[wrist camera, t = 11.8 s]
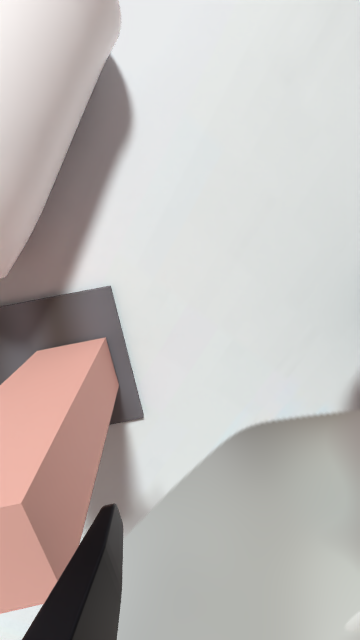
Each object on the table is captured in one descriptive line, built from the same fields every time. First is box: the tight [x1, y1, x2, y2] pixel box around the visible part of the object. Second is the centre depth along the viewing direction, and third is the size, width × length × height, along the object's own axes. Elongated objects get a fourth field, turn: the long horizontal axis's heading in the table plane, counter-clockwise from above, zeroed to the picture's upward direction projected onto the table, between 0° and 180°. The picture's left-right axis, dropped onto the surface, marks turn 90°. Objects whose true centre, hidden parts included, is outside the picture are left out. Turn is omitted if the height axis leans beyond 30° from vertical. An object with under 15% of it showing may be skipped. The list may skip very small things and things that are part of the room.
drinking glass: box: [0, 0, 121, 279], centre depth 14 cm, size 7×7×15 cm
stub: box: [0, 337, 119, 614], centre depth 14 cm, size 5×4×13 cm
